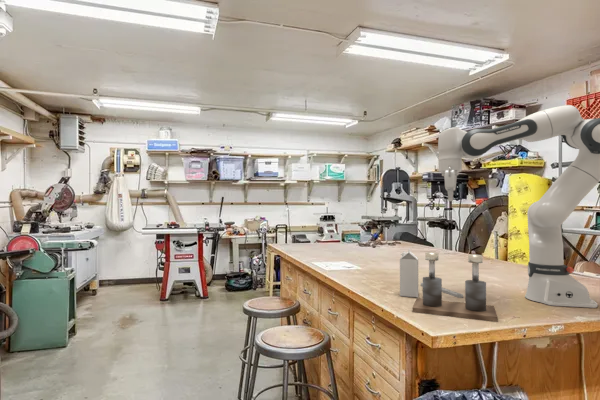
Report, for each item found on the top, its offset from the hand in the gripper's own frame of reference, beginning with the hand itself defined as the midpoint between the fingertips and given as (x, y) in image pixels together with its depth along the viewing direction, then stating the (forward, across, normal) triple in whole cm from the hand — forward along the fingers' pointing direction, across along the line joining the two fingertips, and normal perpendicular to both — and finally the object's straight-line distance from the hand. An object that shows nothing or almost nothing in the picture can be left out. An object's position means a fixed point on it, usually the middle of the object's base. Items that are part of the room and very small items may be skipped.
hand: (450, 201), depth 147 cm
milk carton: (+39, -5, +16) cm, 42 cm away
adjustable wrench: (+39, +8, +5) cm, 40 cm away
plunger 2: (+28, -22, -8) cm, 36 cm away
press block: (+39, -22, -1) cm, 45 cm away
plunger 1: (+27, -22, +6) cm, 36 cm away
